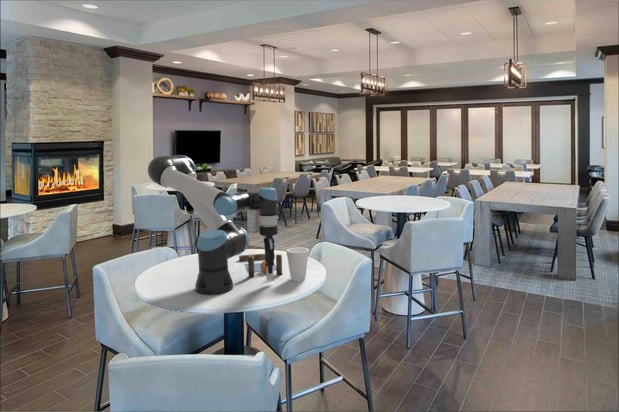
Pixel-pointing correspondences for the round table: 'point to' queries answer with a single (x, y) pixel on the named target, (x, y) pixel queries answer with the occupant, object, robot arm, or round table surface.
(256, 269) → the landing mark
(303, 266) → the foam cup
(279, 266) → the post right
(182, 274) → the round table surface
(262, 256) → the bar
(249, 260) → the post left
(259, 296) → the round table surface
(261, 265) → the ball
